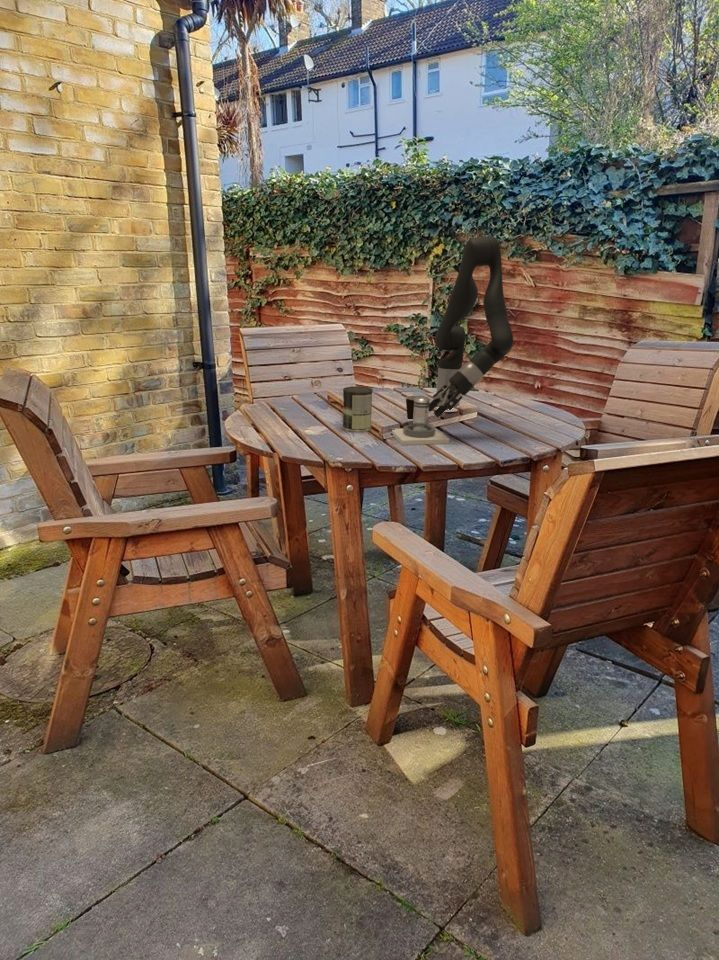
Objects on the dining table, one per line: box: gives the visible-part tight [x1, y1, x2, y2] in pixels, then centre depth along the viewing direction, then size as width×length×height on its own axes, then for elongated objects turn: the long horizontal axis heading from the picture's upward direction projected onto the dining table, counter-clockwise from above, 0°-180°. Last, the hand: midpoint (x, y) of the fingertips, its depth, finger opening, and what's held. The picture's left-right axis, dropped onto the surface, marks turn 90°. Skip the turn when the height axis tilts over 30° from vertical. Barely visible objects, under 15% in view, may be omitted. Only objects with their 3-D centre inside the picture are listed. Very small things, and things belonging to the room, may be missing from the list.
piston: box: [412, 396, 431, 431], centre depth 226 cm, size 5×5×12 cm
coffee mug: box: [405, 395, 431, 419], centre depth 246 cm, size 12×9×10 cm
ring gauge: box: [392, 424, 451, 446], centre depth 228 cm, size 16×16×4 cm
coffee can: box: [342, 386, 374, 433], centre depth 237 cm, size 10×10×14 cm
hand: (431, 412), depth 227 cm, fingers open, 8 cm apart
